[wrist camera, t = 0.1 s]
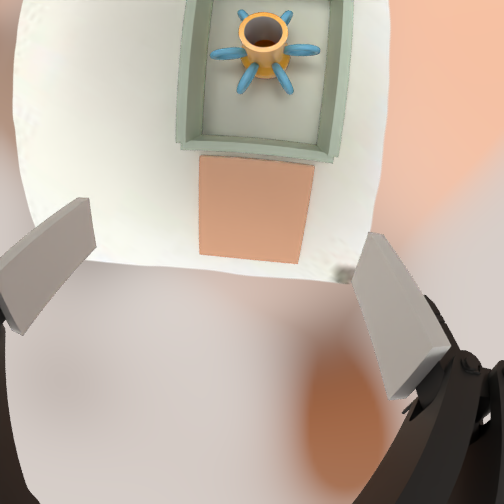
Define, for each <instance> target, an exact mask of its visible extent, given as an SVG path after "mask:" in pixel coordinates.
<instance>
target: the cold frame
mask: <svg viewBox="0 0 504 504" xmlns="http://www.w3.org/2000/svg"><path fill="white" fill-rule="evenodd" d="M212 4H213V0H186V6H185V13H184V21H183V29H182V38H181V48H180V59H179V72H178V87H177V108H176V143H181V150H202V151H223V152H238V153H251V154H262V155H272V156H281V157H290V158H298V159H305V160H313V161H319V162H326V163H332V164H333V159H334V157H338V156H339V149H340V143H341V136H342V130H343V123H344V115H345V107H346V99H347V91H348V81H349V71H350V60H351V48H352V32H353V11H354V0H330V18H329V33H328V46H327V58H326V69H325V79H324V89H323V98H322V106H321V115H320V123H319V131H318V138H317V145H312V144H305V143H298V142H290V141H282V140H273V139H263V138H251V137H238V136H220V135H202V121H203V102H204V87H205V73H206V61H207V49H208V39H209V30H210V21H211V12H212Z"/></svg>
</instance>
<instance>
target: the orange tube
mask: <svg viewBox="0 0 504 504" xmlns="http://www.w3.org/2000/svg"><path fill="white" fill-rule="evenodd" d="M237 13H238V16H239V18H240V19H241V21H242V23H241V24H240V27H239V37H240V40H241V42H242V44H243V46H242V48H239V47H231V48H222V49H218V50H215V51H213V52H211V54H210V57H211V58H212V59H215V60H229V59H237V58H241V61H242V63H243V65H244V67H245V68H246V71H245V73H244V74H243V76H242V78H241V80H240V82H239V84H238V86H237V93H238V94H242V93H244V92H245V91H246V89H247V88H248V86H249V85H250V83H251V82H252V80H253V78H254V76H255V77H257V78H261V79H271V78H275V77H277V78H278V80H279V82H280V84H281V85H282V87H283V89H284V90H285V91H286V93H287V94H289V95H291V94H293V92H294V90H293V87H292V84H291V82H290V80H289V78H288V77H287V75H286V73H285V72H284V71H285V69H286V68H287V66H288V64H289V61H290V55H291V56H311V55H317V54H319V53H320V48H319V47H317V46H314V45H309V44H294V45H287V44H286V40H287V37H288V28H287V25H288V24H289V22H290V20H291V18H292V16H293V12H292V11H290V10H288V11H286V12H285V13H284V14H283V15H282V16H281V17H279V16H277V15H275V14H272V13H268V12H258V13H254V14H251V15H248V14H247V13H246V12H245V11H244V10H239V11H238V12H237Z"/></svg>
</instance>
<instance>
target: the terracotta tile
mask: <svg viewBox="0 0 504 504" xmlns="http://www.w3.org/2000/svg"><path fill="white" fill-rule="evenodd" d="M314 168H315V167H314V165H307V164H300V163H292V162H284V161H275V160H265V159H254V158H242V157H228V156H210V155H201V156H200V158H199V253H200V254H201V255H211V256H220V257H230V258H240V259H250V260H261V261H271V262H281V263H291V264H298V260H299V255H300V250H301V245H302V239H303V234H304V228H305V223H306V217H307V211H308V206H309V200H310V194H311V188H312V181H313V175H314Z"/></svg>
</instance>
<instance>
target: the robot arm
mask: <svg viewBox="0 0 504 504" xmlns="http://www.w3.org/2000/svg"><path fill="white" fill-rule="evenodd" d="M95 248H96V241H95V236H94V230H93V223H92V217H91V209H90V201H89V198H80V197H78V198H76V199H75V200H73V201H72V202H70V203H69V204H67V205H66V206H64V207H63V208H61V209H60V210H59V211H57V212H56V213H54V214H53V215H52V216H50V217H49V218H48V219H46V220H45V221H44V222H42V223H41V224H40V225H38V226H37V227H36V228H35V229H33V230H32V231H31V232H30V233H28V234H27V235H26V236H25V237H23V238H22V239H21V240H20V241H19V242H17V243H16V244H15V245H14V246H13V247H11V248H10V249H9V250H8V251H7V252H6V253H5V254H4V255H2V256H1V257H0V504H40V503H39V501H38V500H37V499H36V498H35V497H34V496H33V495H32V493H31V492H30V491H29V490H28V488H27V485H26V483H25V480H24V477H23V473H22V470H21V467H20V463H19V459H18V455H17V451H16V447H15V443H14V438H13V433H12V427H11V421H10V415H9V407H8V400H7V388H6V373H5V327H4V326H3V324H2V323H3V322H4V321H5V320H7V322H8V324H9V326H10V328H11V330H12V331H14V332H16V333H18V334H20V335H22V336H23V335H24V334H25V333H26V331H27V329H28V328H29V327H30V325H31V324H32V323H33V321H34V320H35V319H36V318H37V316H38V315H39V313H40V312H41V311H42V310H43V308H44V307H45V306H46V304H47V303H48V302H49V301H50V300H51V298H52V297H53V296H54V294H55V293H56V292H57V291H58V290H59V289H60V287H61V286H62V285H63V284H64V283H65V281H66V280H67V279H68V278H69V277H70V276H71V274H72V273H73V272H74V271H75V270H76V269H77V268H78V267H79V265H80V264H81V263H82V262H83V261H84V260H85V259H86V258H87V257H88V256H89V255H90V254H91V252H92V251H93V250H94V249H95ZM351 283H352V285H353V288H354V291H355V293H356V296H357V299H358V302H359V305H360V307H361V310H362V313H363V316H364V319H365V322H366V325H367V328H368V331H369V334H370V338H371V341H372V344H373V347H374V351H375V354H376V357H377V361H378V364H379V367H380V371H381V375H382V378H383V382H384V386H385V390H386V393H387V397H388V400H395V399H404V398H407V397H408V396H409V395H410V394H411V393H412V392H413V391H414V390H415V389H416V391H417V394H418V397H417V398H416V399H415V400H414V401H413V402H412V403H411V404H410V405H409V406H408V407H406V408H405V409H404V411H403V412H402V414H405V413H406V412H407V411H408V410H409V412H408V414H407V416H406V418H405V420H404V422H403V424H402V426H401V428H400V430H399V432H398V434H397V436H396V438H395V439H394V441H393V443H392V445H391V447H390V448H389V450H388V452H387V454H386V455H385V457H384V458H383V460H382V461H381V463H380V465H379V466H378V468H377V470H376V471H375V473H374V474H373V476H372V477H371V479H370V480H369V482H368V483H367V484H366V486H365V487H364V489H363V490H362V491H361V493H360V494H359V496H358V497H357V498H356V499H355V501H354V502H353V503H352V504H504V360H501V361H499V362H498V363H497V365H495V367H494V368H493V369H492V370H491V369H487V368H482V366H481V363H480V361H479V360H478V359H477V357H476V356H475V355H473V354H472V353H470V352H468V351H466V350H460V349H459V347H458V345H457V343H456V341H455V339H454V337H453V335H452V333H451V331H450V330H449V328H448V326H447V324H446V323H445V321H444V319H443V317H442V316H441V315H440V312H439V310H438V309H437V307H436V305H435V304H434V303H433V302H432V301H431V300H430V299H429V298H428V297H427V296H426V295H423V294H422V292H421V291H420V289H419V287H418V286H417V284H416V282H415V281H414V279H413V278H412V276H411V274H410V273H409V271H408V270H407V268H406V267H405V265H404V264H403V262H402V261H401V259H400V258H399V256H398V255H397V253H396V252H395V250H394V249H393V248H392V246H391V245H390V243H389V242H388V241H387V239H386V238H385V236H384V235H383V234H378V233H373V232H368V235H367V238H366V241H365V244H364V247H363V250H362V253H361V256H360V259H359V262H358V264H357V267H356V270H355V273H354V275H353V278H352V281H351ZM490 412H491V419H490V420H489V421H488V422H487V423H486V424H483V418H484V417H485V416H487V415H488V414H489V413H490Z"/></svg>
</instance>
